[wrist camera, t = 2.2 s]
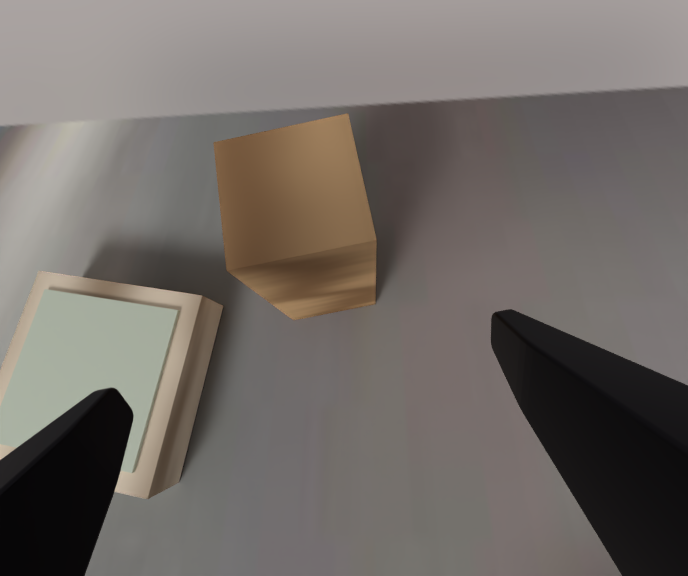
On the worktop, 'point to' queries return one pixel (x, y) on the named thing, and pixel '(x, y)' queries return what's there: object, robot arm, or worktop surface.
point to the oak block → (298, 217)
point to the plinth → (111, 367)
